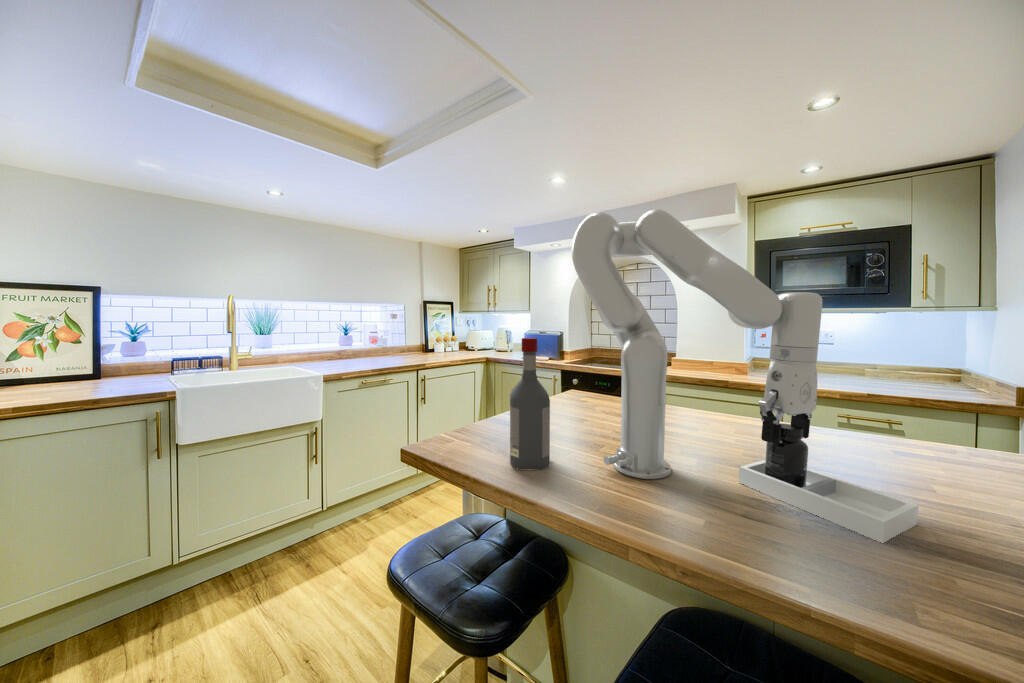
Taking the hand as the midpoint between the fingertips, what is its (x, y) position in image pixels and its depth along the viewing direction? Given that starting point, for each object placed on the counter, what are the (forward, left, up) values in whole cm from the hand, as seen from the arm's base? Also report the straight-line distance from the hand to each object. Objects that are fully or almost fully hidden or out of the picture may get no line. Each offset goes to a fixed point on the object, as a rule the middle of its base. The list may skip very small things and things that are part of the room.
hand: (785, 439), depth 75 cm
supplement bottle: (0, 0, -10) cm, 10 cm away
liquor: (-41, +34, -11) cm, 54 cm away
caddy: (0, -6, -10) cm, 12 cm away
